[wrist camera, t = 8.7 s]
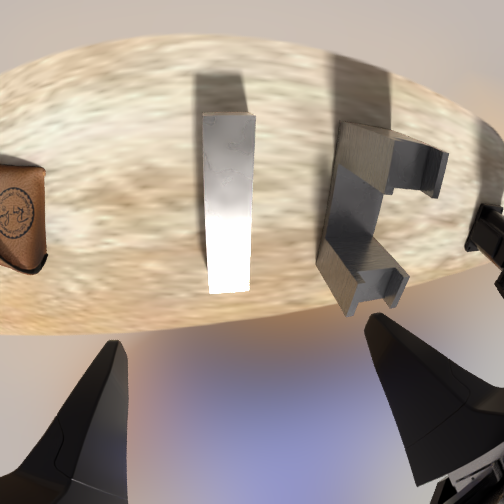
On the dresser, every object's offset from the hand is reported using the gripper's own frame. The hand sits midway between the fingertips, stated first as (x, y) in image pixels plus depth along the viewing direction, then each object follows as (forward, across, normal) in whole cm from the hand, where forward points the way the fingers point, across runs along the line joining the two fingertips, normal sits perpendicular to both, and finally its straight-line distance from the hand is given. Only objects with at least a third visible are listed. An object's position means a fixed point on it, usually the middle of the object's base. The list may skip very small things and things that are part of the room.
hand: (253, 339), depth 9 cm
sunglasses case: (+12, +22, -3) cm, 25 cm away
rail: (+12, 0, 0) cm, 12 cm away
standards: (+12, -10, 0) cm, 15 cm away
